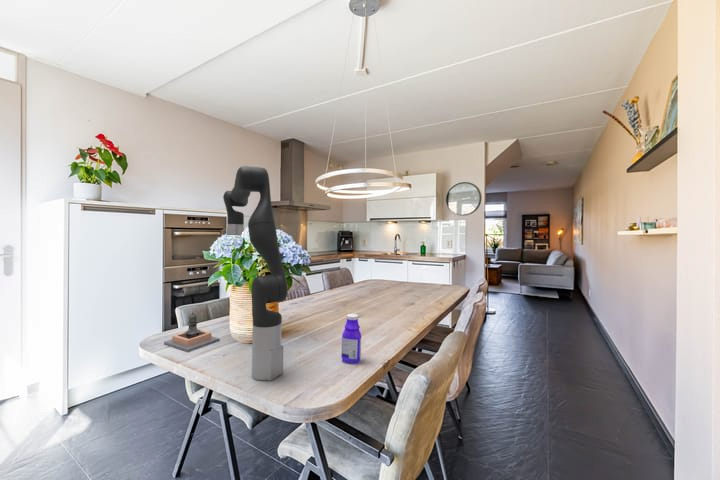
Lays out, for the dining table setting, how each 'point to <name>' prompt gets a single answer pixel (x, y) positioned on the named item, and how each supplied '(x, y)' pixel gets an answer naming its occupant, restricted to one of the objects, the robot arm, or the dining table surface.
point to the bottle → (351, 340)
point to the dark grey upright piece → (192, 327)
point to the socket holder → (191, 341)
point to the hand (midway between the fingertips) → (234, 268)
